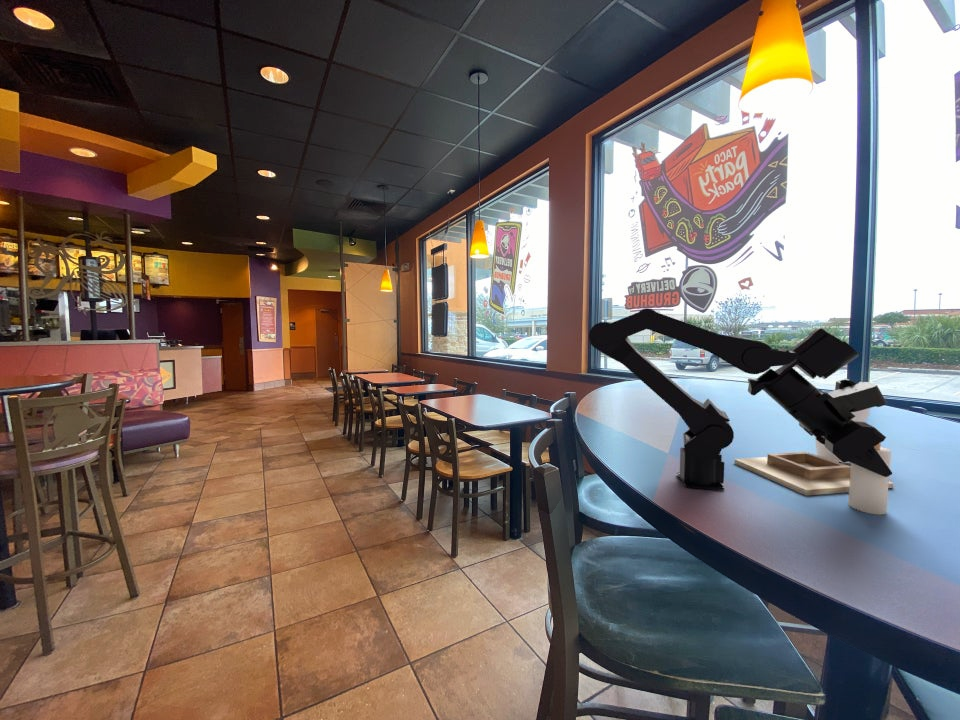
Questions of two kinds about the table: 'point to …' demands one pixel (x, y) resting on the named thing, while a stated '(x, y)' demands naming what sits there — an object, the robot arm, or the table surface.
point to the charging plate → (802, 472)
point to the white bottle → (869, 486)
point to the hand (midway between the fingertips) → (881, 470)
